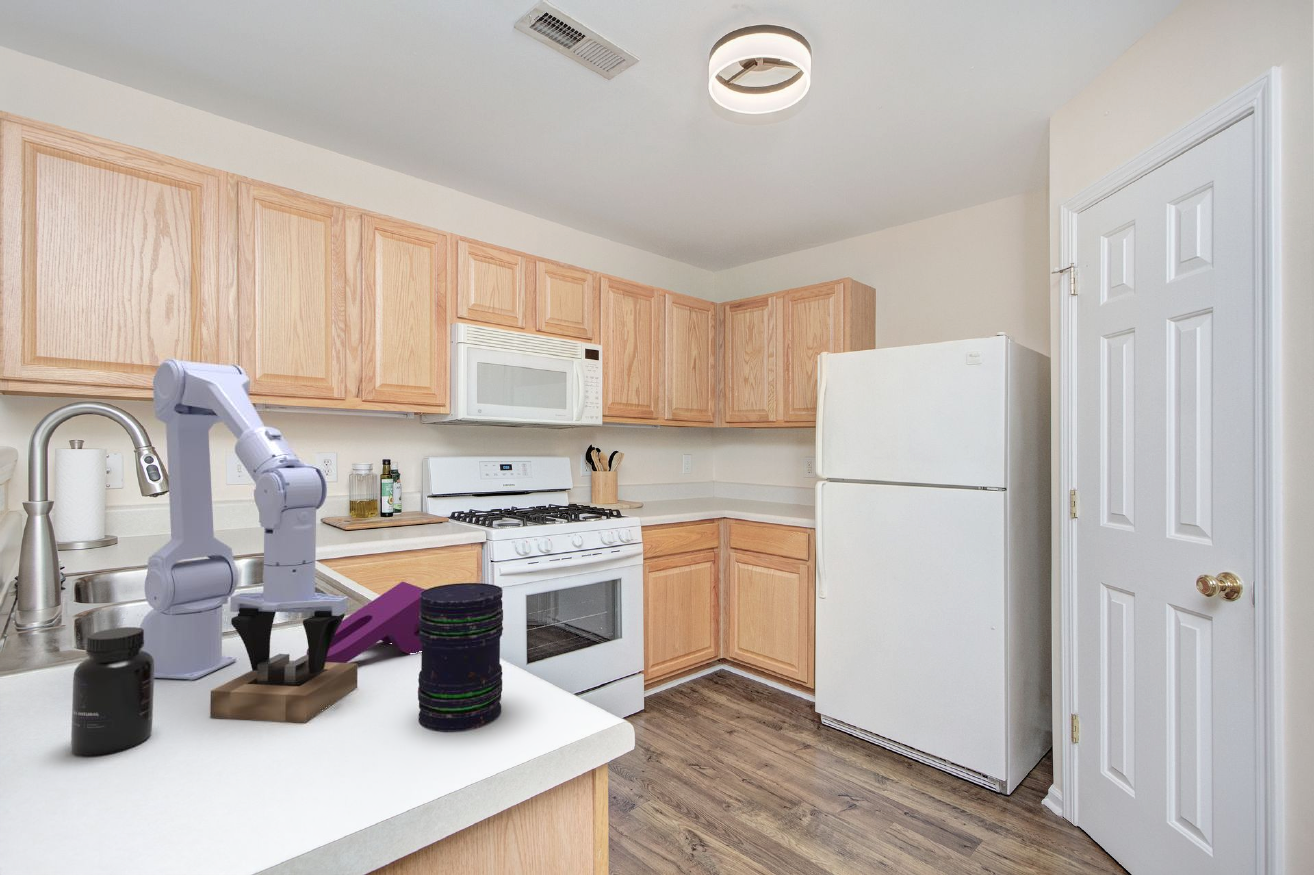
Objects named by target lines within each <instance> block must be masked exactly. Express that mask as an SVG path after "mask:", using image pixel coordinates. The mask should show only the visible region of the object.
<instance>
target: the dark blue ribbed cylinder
mask: <svg viewBox="0 0 1314 875" xmlns="http://www.w3.org/2000/svg"><path fill="white" fill-rule="evenodd" d="M502 598H503V588H502V587H501V586H498V585H496V584H490V583H481V582H463V583H462V582H461V583H449V584H443V585H442V584H441V585H438V586H433V587H430V588H429V587H428V588H426V590H424V591H422V592H421V593H420V602H421V606H420V615H419V627H420V632H419V637H420V638H419V639H420V642H421V643H422V652H421V660H420V661H421V665H420V671H419V673H418V679H417V681H418V687H417V699H418V708H419V713H418V723H419V724H420V726H422V727H423V728H424V729H427V730H430V731H434V732H438V733H439V732H441V733H442V732H443V733H455V732H456V733H457V732H466V731H471V730H475V729H479V728H482V727H485V726H487V725H489V724H491V723H492V722H494V721H496V720H498V718H499V717H500V716H501V713H502V704H501V700H502V692H503V678H502V677H503V666H502V665H501V662H500V661H501V637H502V635H503V630H504V626H503V621H504V610H503V600H502Z"/></svg>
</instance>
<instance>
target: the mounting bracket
mask: <svg viewBox="0 0 1314 875" xmlns="http://www.w3.org/2000/svg"><path fill="white" fill-rule="evenodd" d="M426 589H427V588H426ZM426 589H425V588H423V587H419V586H417V585H414V584H411V583H408V582H405V581H401V582H399V583H398V584H396V585H394V586H393V587H391V588H390V589H388V590H387V591H386V592H384V593H383V594H381V595H380V596H378V597H376V598H375V599H373V600H372V601H370V602H369V603H367V604H366V605H364V606H363V607H361V608H360V609H357V611H355V612H353V613H351V614H350V615H349V616H347V617H346V618H343V620H342V622H341V623H340V625H339V627H338V629H337V631H336V633H335V635H334V637H333V640H332V642H331V645H330V648H329V651H328V654H327V658H326V662H333V663H349V662H350V661H352V660H354V659H355V658H357V657H358V656H359V655H361V654H363V653H364V652H366V650H368V649H369V648H371V647H372V646H374V645H375V644H377V643H378V642H379V641H381V642H383V643H385V644H387V645H390V644H389V643H392V645H393V647H395V648H396V649H398V650H399V651H402V652H403V653H405V654H408V655H410V653H416V652H419V651H422V643H421V642H420V639H419V638H420V637H419V632H420V627H419V615H420V606H421V602H420V593H421V592H422V591H424V590H426ZM416 654H417V653H416ZM305 655H308V648H307V650H306V654H305Z"/></svg>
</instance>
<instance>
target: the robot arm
mask: <svg viewBox="0 0 1314 875" xmlns="http://www.w3.org/2000/svg"><path fill="white" fill-rule="evenodd" d="M247 375H248V374H247V373H246V372H245V370H244V368H243V367H241V366H240V365H237V364H230V365H226V364H217V363H208V362H207V363H206V362H196V361H187V360H177V359H176V358H166V359H165V360H163V362H162V363H161V364H160V365H159V366H158V368H157V370H156V372H155V374H154V376H153V381H152V386H153V387H152V389H153V390H152V391H153V393H152V395H153V407H154V408H153V409H154V417H155V418H156V420H158V421H160V422H163V423H164V424H165V429H166V430H165V432H166V451H167V452H166V455H167V474H168V476H167V477H168V498H169V519H170V540H169V541H168V542H167V543H165V544H164V545H163V546H162V547H160V548H159V549H157V551H155V552H154V553H152V554H151V555H150V557H148V561H147V573H146V577H145V580H144V586H143V587H144V589H143V590H144V596H145V599H146V601H147V603H148V605H149V606H150V607H151V608H152V609H151V610H150V611H148V612H147V614H145V615H144V617H143V619H142V622H141V623H140V626H139V628H141V629H143V630H144V642H145V643H144V647H143V648H141V650H142V651H145V652H147V653H149V654H150V655H151V656H152V657H153V659H154V679H155V678H160V679H175V680H177V679H178V680H196V679H199V678H201V677H204V676H205V675H209V674H210V673H212V672H215V671H216V670H219V669H221V668H223V667H226V666H227V665H230V664H232V663H235V662H236V661H237V659H238V658H237V657H235V656H223V605H226V604H228V603H229V598H230V612H232V613H236V612H237V615H235V616H233V617H231V619H230V622H231V623H230V624H231V626H233V628H234V629H235V631H236V632H237V633H238V635H239V637H240V638H241V640H242V643H243V644H244V647H245V650H246V652H247V656H248V659H249V662H250V667H251V671H252V670H253V671H257V664H259V663H261V662H263V661H265V660H267V659H270V658H271V657H270V654H271V653H270V652H271V636H272V628H273V624H274V620H275V616H276V613H293V614H294V613H298V614H299V613H300V614H314V615H312V616H310V617H307V618H305V619H303V620H302V625H303V628H304V630H305V636H306V641H307V649H308V667H309V672H310V673H317V672H318V671H320V670H322V669H324V666H325V662H326V658H327V654H328V651H329V648H330V645H331V642H332V640H333V637H334V635H335V633H336V631H337V629H338V627H339V625H340V623H341V622H342V620H344V619H345V615H346V613H349V597H348V596H339V595H333V594H326V593H320V592H316V556H317V555H316V549H317V548H316V546H317V545H316V544H317V538H316V537H317V510H319V509H320V508H321V507H323V505H324V503H325V501H326V498H327V493H328V487H327V485H328V484H327V480H326V477H325V475H324V473H323V472H322V469H321V468H320V467H318V466H317V465H309V464H308V462H303V461H301V460H300V458H299V457H298V456H297V454H296V453H295V451H294V450H293V449H292V447H291V446H290V444H289V443H288V442H287V440H286V439H285V437H284V436H283V434H282V433H281V431H280V430H279V428H277V429H276V428H275V427H271V426H265V423H264V422H263V420H262V419H261V417H260V415H259V412H258V411H257V410H256V408H255V406H254V404H253V402H252V400H251V398H250V397H249V396H250V388H251V384H250V382H251V381H250V378H249V377H248V376H247ZM220 422H223V423H224V425H225V427H227V428H228V430H229V431H230V432H231V434H232V435H233V436H234V437H235V438H236V439H237V441H236V443H235V445H234V453H235V455H236V457H238V459H239V461H240V462H241V463H242V465H243V466H244V468H245V470H246V472H248V474H249V476H250V477H251V479H252V480H253V481H254V483H255V489H253V496H254V497H253V498H254V502H255V505H256V507H257V509H258V510H257V511H258V513H259V516H258V517H259V519H258V520H259V523H260V527H261V528H263V529H264V530H263V531H264V532H263V589H262V590H263V592H250V593H249V592H246V593H245V592H241V593H237V594H235V595H234V593H235V591H236V589H237V587H238V583H239V572H238V568H237V566H236V563H235V561H234V555H233V548H232V547H231V546H230V545H227V544H225V543H224V542H222V541H221V540H219V539H218V538H216V537H215V535H214V534H215V533H214V516H213V515H214V514H213V510H214V509H213V494H212V492H213V491H212V490H213V489H212V475H211V474H212V473H211V472H212V471H211V455H210V452H211V450H210V437H209V436H210V430H211V429H212V427H213V426H214V425H215V424H218V423H220ZM205 557H206V558H207V559H199V558H205ZM197 558H198V559H199V560H193V561H191V560H192V559H197ZM190 559H191V560H190ZM183 560H190V561H186V562H184V561H183ZM180 561H183V562H180ZM177 562H178V563H177Z"/></svg>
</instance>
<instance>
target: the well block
mask: <svg viewBox="0 0 1314 875" xmlns="http://www.w3.org/2000/svg"><path fill="white" fill-rule="evenodd" d="M293 661H294V660H289V663H291V662H293ZM358 666H359V664H358V663H354V662H353V663H352V662H346V663H333V662H325V666H324V669H322V670H320V671H318V672H317V673H315V678H313V679H311V680H310V681H308V682H306V683H305V684H303V685H301V686H300V687H297V686H277V685H257V671H253V670H252V669H251V670H250V671H248V672H245V673H244V674H241V675H240V676H238V677H236V678H234V679H231V680H230V681H228V682H226V683H224V684H222V685H220V686H217V687H215V688H214V689H211V690H210V704H209V706H210V707H209V708H210V710H209V711H210V716H209V718H211V719H228V720H229V719H231V720H247V721H264V722H268V721H269V722H283V723H297V724H298V723H299V724H300V723H302V724H306V723H307V722H309V721H311V720H312V719H313V718H315V717H316V716H318V715H319V714H321V713H322V712H323V711H322V710H324V709H325V708H326V707H328V706H329V705H331V704H332V703H334V702H335V703H337V702H338V701H339V699H340V700H341V699H342V697H343V698H344V697H345V696H347V695H348V694H349V692H350V693H352V692H353V691H354V690H356V689H357V688H358ZM355 688H356V689H355ZM352 690H353V691H352ZM346 694H347V695H346ZM337 700H338V701H337ZM336 701H337V702H336ZM335 703H334V704H335ZM332 705H333V704H332ZM332 705H331V706H332ZM329 707H330V706H329ZM329 707H328V708H329ZM326 709H327V708H326ZM326 709H325V710H326ZM325 710H324V711H325ZM320 712H321V713H320ZM318 713H319V714H318ZM317 714H318V715H317ZM314 716H315V717H314ZM311 718H312V719H311ZM308 720H309V721H308Z"/></svg>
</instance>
